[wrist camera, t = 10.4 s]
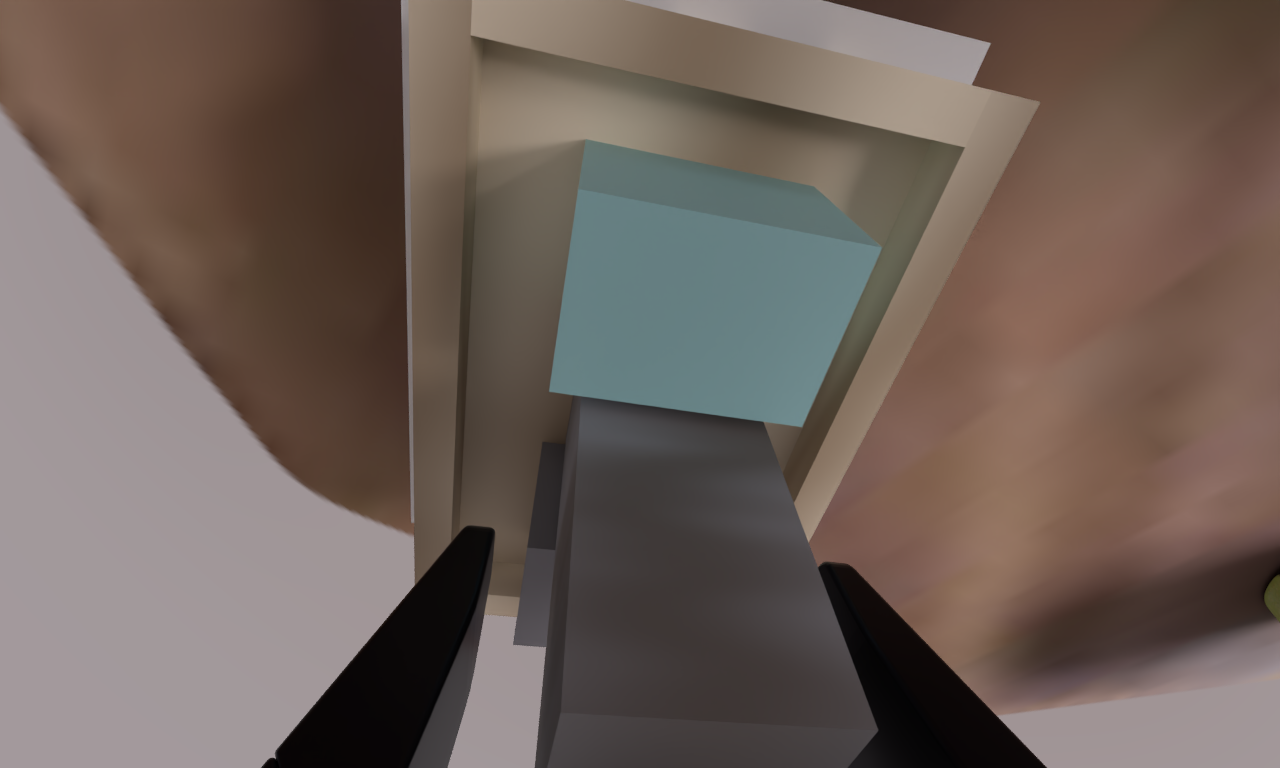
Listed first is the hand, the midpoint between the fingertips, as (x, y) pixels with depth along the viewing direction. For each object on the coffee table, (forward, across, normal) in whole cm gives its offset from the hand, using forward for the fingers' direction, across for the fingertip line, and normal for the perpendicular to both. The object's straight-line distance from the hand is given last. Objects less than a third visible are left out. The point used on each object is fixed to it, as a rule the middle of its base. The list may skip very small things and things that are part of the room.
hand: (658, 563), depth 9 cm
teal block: (+4, 0, -3) cm, 6 cm away
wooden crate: (+7, 0, 0) cm, 7 cm away
